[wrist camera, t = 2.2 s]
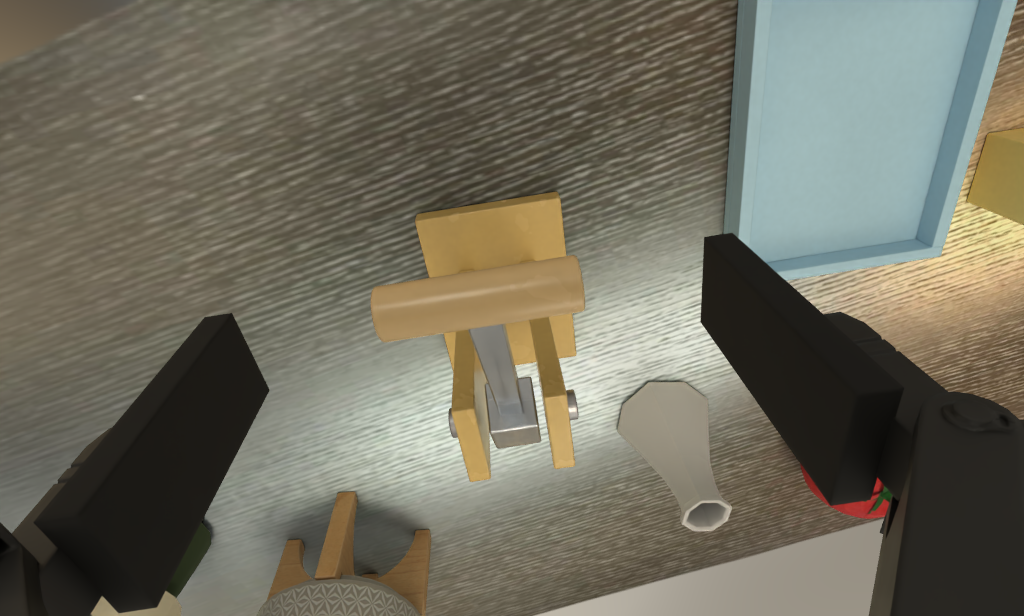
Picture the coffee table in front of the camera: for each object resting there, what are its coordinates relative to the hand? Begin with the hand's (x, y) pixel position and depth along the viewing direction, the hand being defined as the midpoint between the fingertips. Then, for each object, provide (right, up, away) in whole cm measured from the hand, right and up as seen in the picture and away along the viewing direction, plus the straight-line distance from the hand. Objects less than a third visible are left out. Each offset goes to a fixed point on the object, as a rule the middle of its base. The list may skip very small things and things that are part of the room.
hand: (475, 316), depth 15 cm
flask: (+13, -8, +29) cm, 33 cm away
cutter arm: (+1, -1, +6) cm, 6 cm away
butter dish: (+21, +11, +17) cm, 30 cm away
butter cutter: (0, +2, +21) cm, 22 cm away
